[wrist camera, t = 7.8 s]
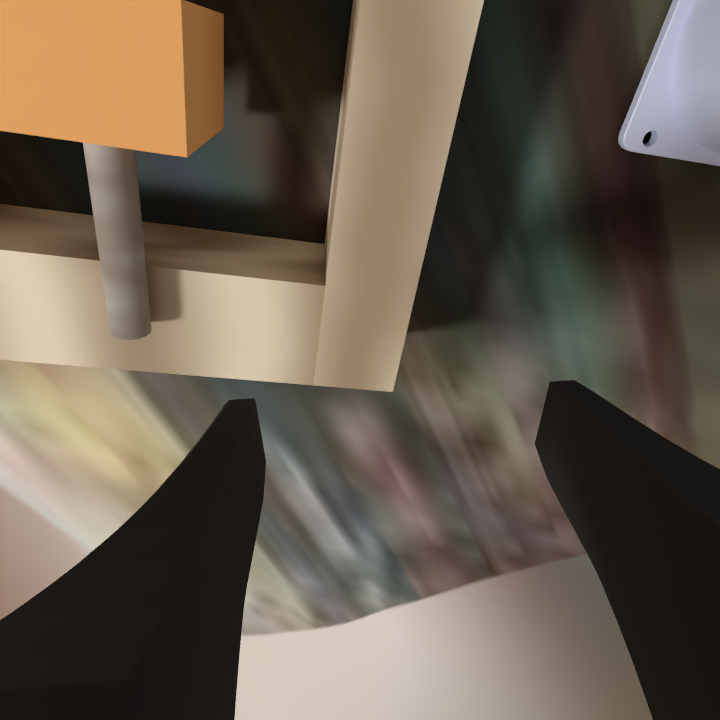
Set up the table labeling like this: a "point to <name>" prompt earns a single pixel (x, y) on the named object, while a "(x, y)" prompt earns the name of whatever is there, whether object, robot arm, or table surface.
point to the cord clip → (113, 72)
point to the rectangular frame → (259, 239)
